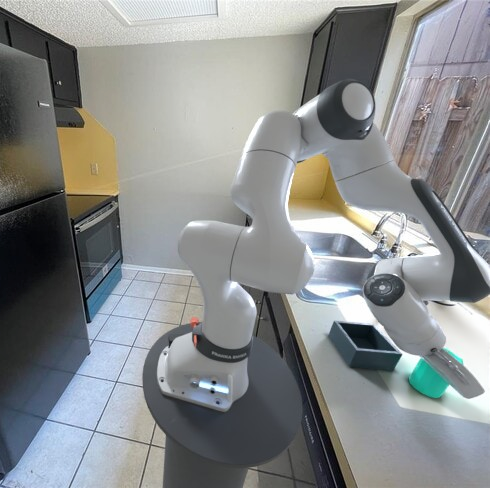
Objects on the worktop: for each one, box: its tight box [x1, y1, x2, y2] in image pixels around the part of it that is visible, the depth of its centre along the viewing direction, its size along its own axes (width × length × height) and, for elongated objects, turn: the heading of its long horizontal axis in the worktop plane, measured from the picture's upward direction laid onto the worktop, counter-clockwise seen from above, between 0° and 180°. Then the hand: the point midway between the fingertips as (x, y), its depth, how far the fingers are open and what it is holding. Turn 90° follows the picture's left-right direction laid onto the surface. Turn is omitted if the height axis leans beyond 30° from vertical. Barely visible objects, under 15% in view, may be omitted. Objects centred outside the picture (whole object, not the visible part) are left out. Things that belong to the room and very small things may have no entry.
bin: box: [327, 320, 403, 372], centre depth 71 cm, size 11×11×6 cm
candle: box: [408, 347, 464, 399], centre depth 60 cm, size 6×6×12 cm
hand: (439, 367), depth 60 cm, fingers closed on candle, 5 cm apart
